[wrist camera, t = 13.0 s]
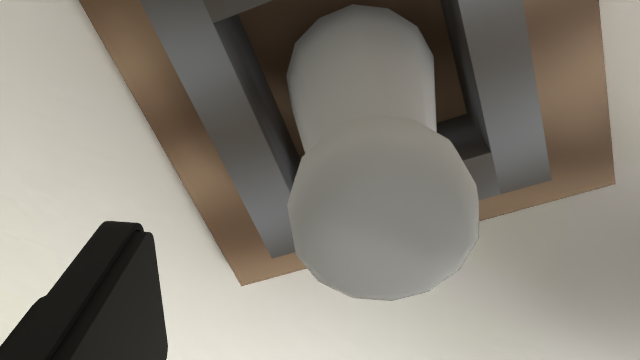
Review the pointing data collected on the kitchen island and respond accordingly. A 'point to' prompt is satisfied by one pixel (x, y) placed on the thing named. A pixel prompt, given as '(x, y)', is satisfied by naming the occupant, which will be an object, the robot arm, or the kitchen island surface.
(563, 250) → the kitchen island surface
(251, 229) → the holder
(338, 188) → the salt shaker
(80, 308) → the robot arm
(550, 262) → the kitchen island surface
